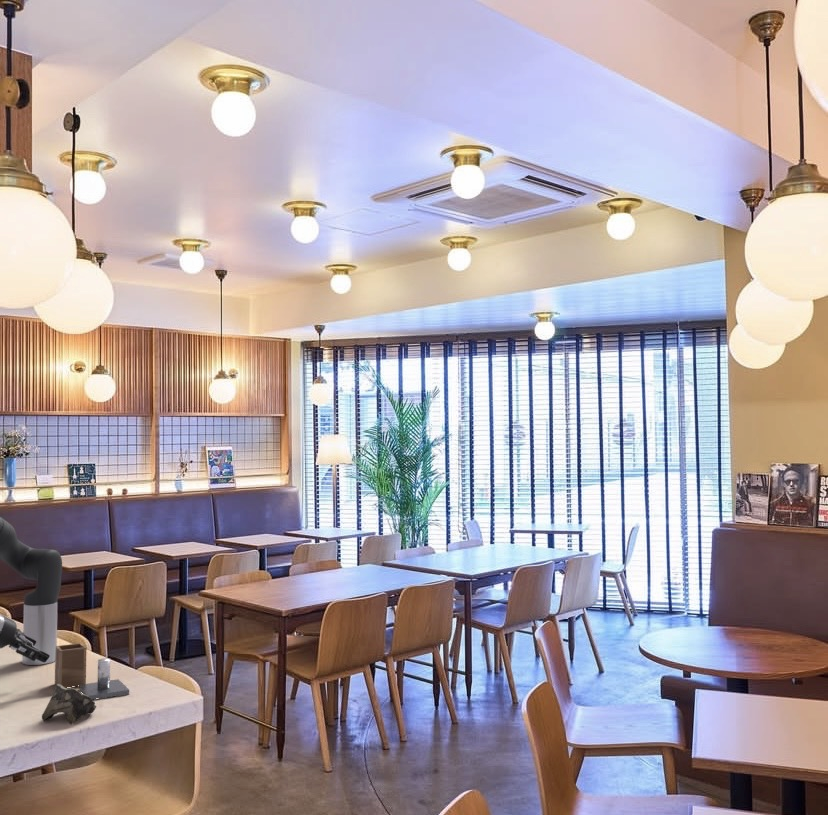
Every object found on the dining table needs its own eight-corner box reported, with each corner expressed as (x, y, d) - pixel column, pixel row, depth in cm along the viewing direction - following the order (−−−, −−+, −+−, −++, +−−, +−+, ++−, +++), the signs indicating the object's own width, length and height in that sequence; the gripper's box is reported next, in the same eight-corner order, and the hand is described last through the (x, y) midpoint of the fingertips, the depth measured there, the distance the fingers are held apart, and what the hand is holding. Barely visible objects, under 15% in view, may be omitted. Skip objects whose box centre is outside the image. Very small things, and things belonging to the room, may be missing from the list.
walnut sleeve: (54, 683, 219) (55, 646, 220) (80, 680, 223) (81, 643, 224) (58, 689, 214) (59, 650, 214) (85, 685, 217) (86, 647, 218)
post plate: (78, 689, 214) (79, 657, 214) (118, 683, 219) (118, 652, 220) (87, 700, 204) (88, 667, 204) (129, 694, 209) (129, 661, 210)
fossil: (105, 708, 196) (97, 676, 192) (87, 738, 187) (79, 705, 183) (61, 705, 197) (53, 673, 193) (42, 735, 189) (33, 702, 184)
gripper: (-29, 629, 209) (20, 652, 221) (-9, 653, 200) (41, 676, 211) (-9, 604, 212) (39, 628, 223) (12, 627, 202) (61, 651, 213)
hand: (40, 651), depth 217 cm, fingers open, 8 cm apart
